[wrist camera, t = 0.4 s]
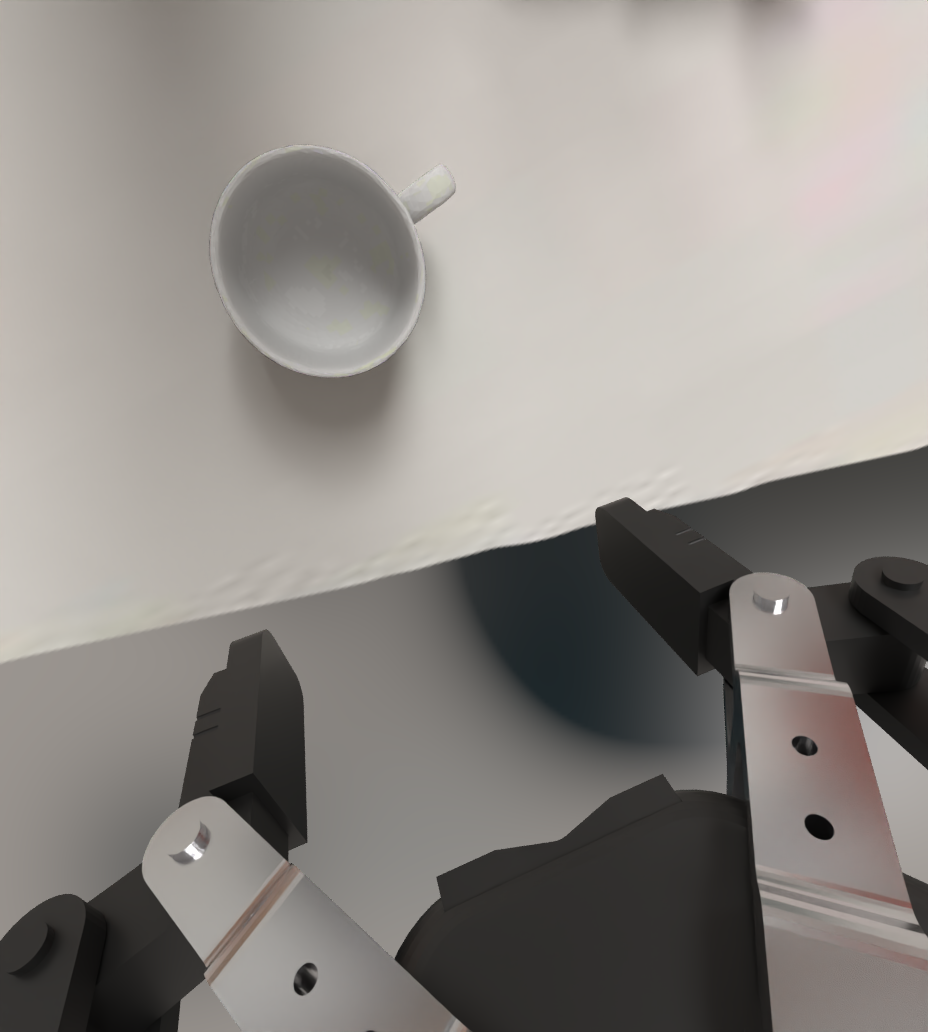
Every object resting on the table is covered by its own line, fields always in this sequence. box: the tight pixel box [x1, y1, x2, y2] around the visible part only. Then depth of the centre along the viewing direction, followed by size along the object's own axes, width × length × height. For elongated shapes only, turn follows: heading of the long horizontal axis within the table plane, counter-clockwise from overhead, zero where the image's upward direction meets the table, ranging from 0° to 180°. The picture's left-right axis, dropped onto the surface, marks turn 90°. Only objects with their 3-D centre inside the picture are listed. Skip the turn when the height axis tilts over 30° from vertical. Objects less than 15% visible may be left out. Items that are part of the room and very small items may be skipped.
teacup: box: [209, 145, 456, 378], centre depth 30 cm, size 14×11×8 cm
